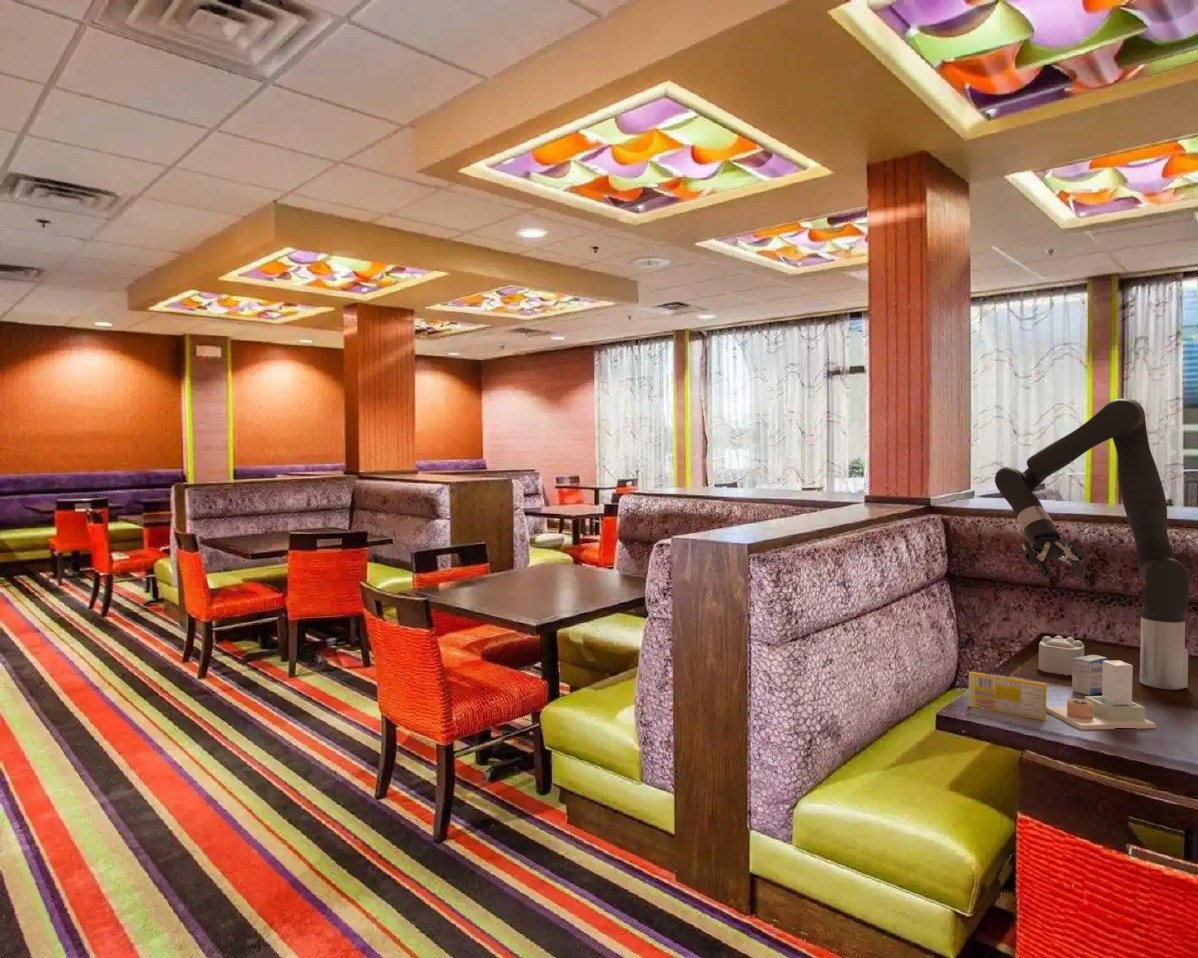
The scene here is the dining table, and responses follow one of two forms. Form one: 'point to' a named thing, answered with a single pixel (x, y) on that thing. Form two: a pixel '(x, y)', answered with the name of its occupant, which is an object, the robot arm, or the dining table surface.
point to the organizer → (1101, 714)
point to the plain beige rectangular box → (1117, 683)
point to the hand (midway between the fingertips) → (1064, 575)
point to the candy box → (1007, 695)
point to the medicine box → (1087, 674)
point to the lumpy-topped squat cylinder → (1059, 654)
